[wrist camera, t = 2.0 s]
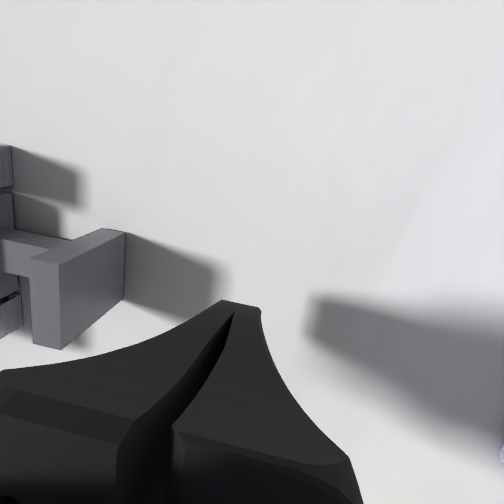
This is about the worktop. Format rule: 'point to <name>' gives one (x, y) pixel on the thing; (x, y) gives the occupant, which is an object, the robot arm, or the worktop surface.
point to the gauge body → (9, 307)
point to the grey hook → (61, 277)
